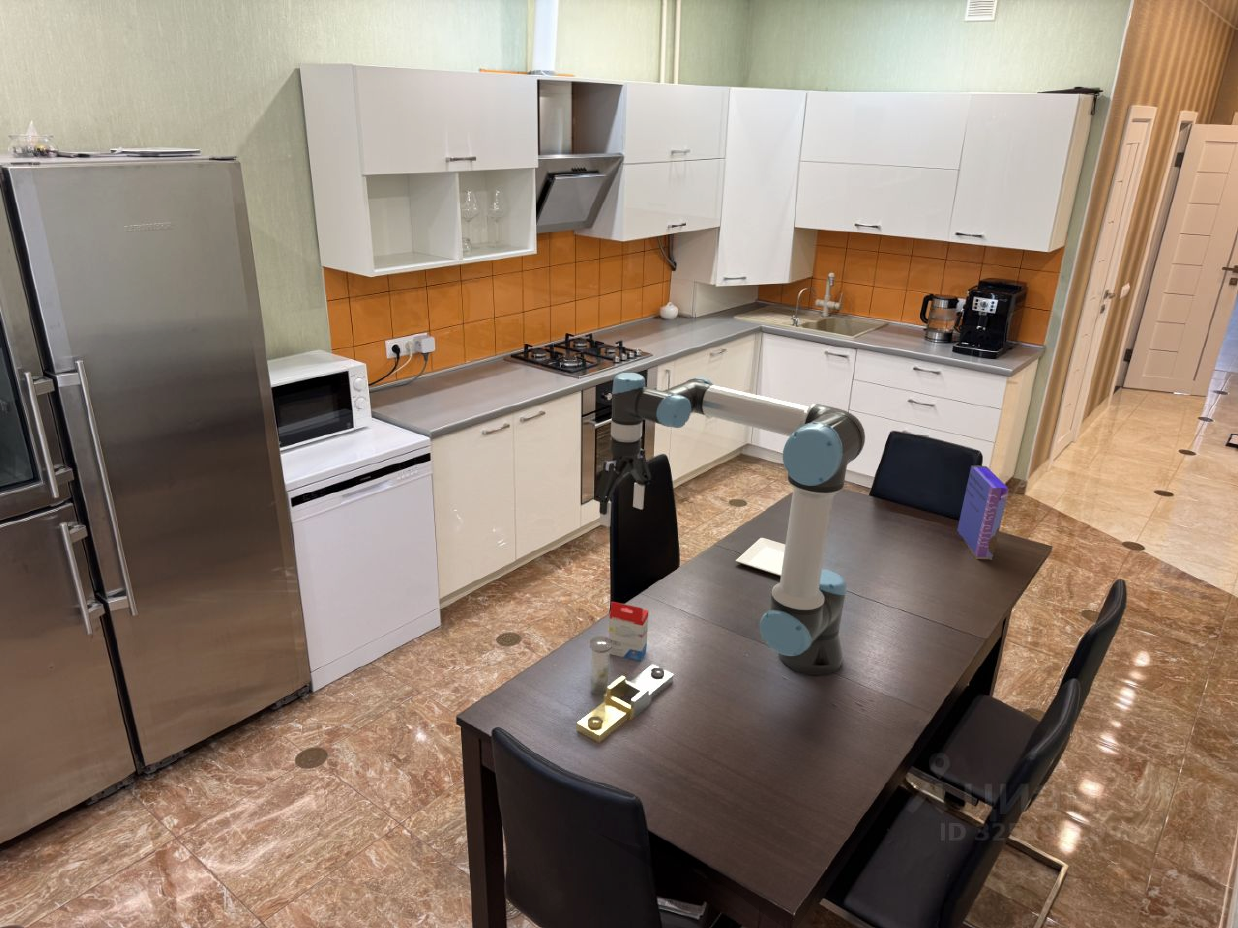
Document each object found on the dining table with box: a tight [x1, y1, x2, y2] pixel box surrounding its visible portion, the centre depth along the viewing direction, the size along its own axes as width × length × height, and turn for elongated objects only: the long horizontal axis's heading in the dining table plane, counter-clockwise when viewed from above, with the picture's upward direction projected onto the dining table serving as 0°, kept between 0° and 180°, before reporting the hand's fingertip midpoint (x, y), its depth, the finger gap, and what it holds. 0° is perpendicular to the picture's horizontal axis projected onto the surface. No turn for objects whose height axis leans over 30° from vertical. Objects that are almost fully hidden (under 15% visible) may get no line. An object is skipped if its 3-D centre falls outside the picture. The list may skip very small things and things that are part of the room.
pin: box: [589, 635, 612, 697], centre depth 194 cm, size 5×5×13 cm
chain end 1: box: [576, 675, 635, 744], centre depth 187 cm, size 8×16×4 cm, turn 143°
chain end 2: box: [624, 663, 675, 719], centre depth 195 cm, size 8×16×4 cm, turn 143°
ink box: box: [608, 601, 649, 662], centre depth 207 cm, size 8×5×15 cm, turn 71°
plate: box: [735, 537, 786, 577], centre depth 256 cm, size 19×19×2 cm
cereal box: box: [956, 464, 1010, 558], centre depth 267 cm, size 17×5×24 cm, turn 179°
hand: (621, 516), depth 217 cm, fingers open, 13 cm apart
